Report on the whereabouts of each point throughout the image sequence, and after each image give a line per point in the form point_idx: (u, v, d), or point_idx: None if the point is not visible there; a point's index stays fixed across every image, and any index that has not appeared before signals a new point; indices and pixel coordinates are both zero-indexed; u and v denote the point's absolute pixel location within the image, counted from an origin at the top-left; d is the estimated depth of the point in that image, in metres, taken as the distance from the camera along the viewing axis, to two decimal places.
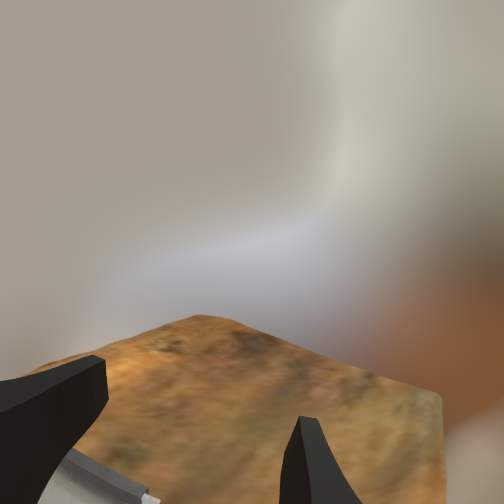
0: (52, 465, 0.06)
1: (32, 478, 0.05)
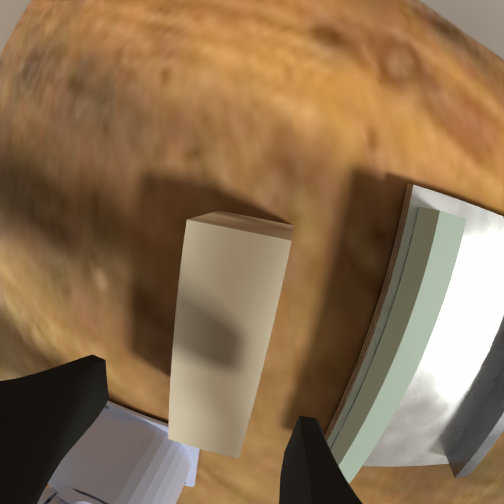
0: (52, 465, 0.06)
1: (32, 478, 0.05)
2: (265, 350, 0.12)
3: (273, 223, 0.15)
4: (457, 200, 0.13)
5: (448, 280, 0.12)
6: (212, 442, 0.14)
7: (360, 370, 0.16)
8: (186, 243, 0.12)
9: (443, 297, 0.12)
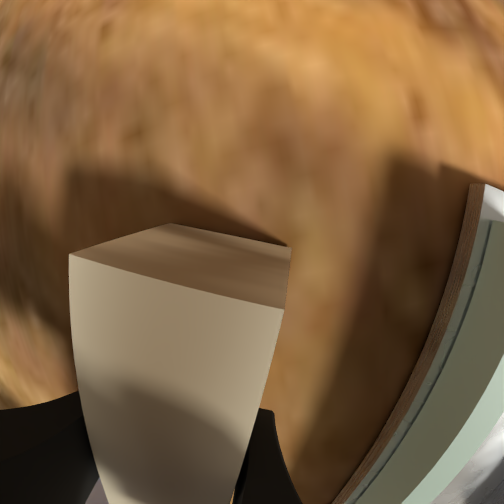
0: (89, 487, 0.06)
1: (70, 503, 0.05)
2: (234, 480, 0.06)
3: (256, 247, 0.09)
4: None
5: None
6: None
7: (383, 452, 0.09)
8: (73, 300, 0.05)
9: None
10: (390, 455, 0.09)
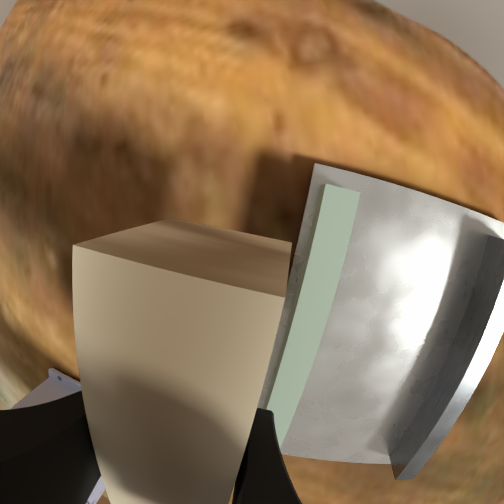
0: (89, 487, 0.06)
1: (71, 503, 0.05)
2: (235, 473, 0.06)
3: (257, 241, 0.09)
4: (368, 177, 0.14)
5: (341, 257, 0.13)
6: None
7: None
8: (76, 291, 0.05)
9: (337, 275, 0.13)
10: (278, 355, 0.17)
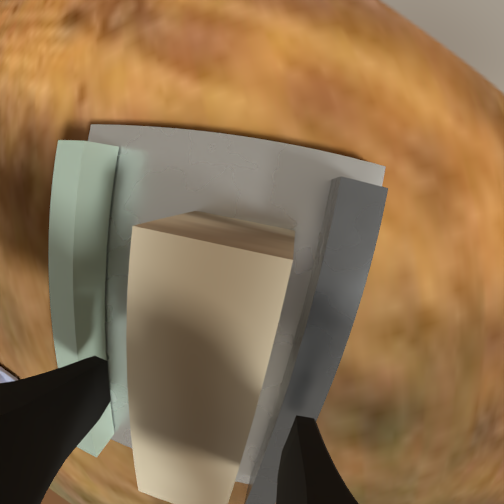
0: (54, 467, 0.06)
1: (34, 480, 0.05)
2: (252, 413, 0.08)
3: (267, 228, 0.11)
4: (139, 127, 0.12)
5: (72, 215, 0.10)
6: (189, 500, 0.10)
7: None
8: (133, 261, 0.07)
9: (71, 235, 0.10)
10: None
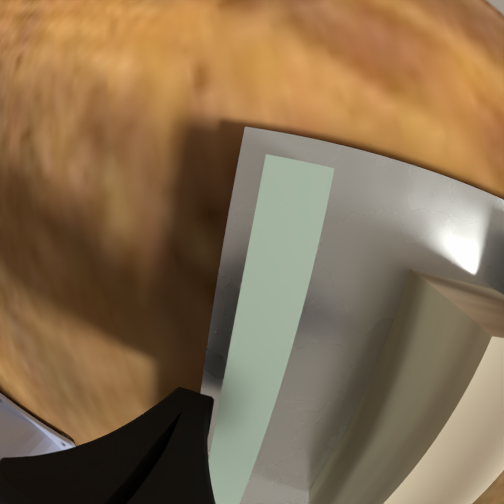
0: None
1: None
2: (496, 477, 0.05)
3: (491, 294, 0.08)
4: (335, 146, 0.09)
5: (300, 292, 0.07)
6: None
7: None
8: (476, 378, 0.04)
9: (293, 323, 0.07)
10: None
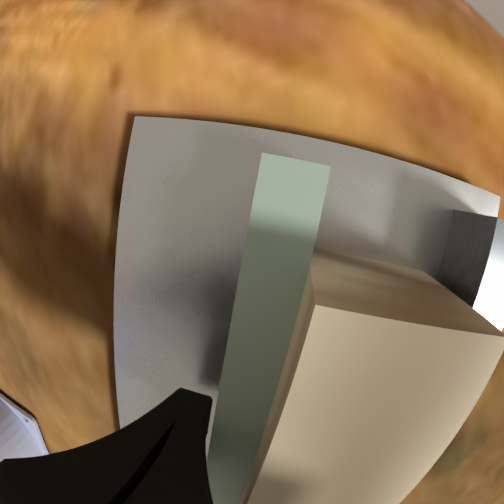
0: None
1: None
2: (409, 492, 0.05)
3: (407, 273, 0.08)
4: (210, 123, 0.09)
5: (296, 291, 0.07)
6: None
7: (116, 377, 0.12)
8: (308, 358, 0.05)
9: (290, 322, 0.07)
10: (125, 383, 0.12)
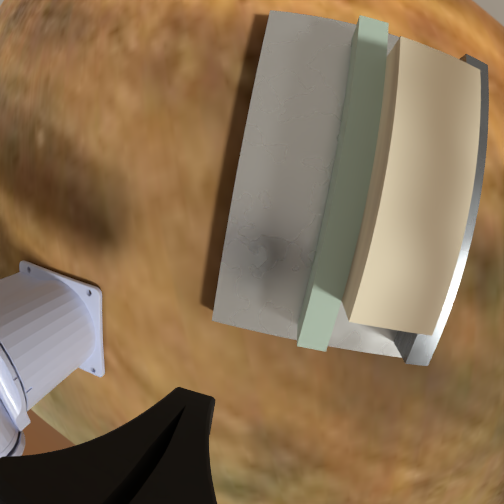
0: None
1: None
2: (475, 165, 0.10)
3: None
4: (317, 17, 0.13)
5: (382, 67, 0.11)
6: (408, 312, 0.11)
7: (237, 173, 0.16)
8: (402, 54, 0.09)
9: (382, 80, 0.12)
10: (244, 178, 0.16)
